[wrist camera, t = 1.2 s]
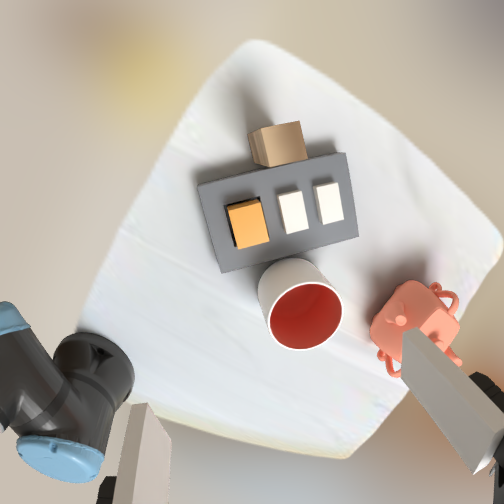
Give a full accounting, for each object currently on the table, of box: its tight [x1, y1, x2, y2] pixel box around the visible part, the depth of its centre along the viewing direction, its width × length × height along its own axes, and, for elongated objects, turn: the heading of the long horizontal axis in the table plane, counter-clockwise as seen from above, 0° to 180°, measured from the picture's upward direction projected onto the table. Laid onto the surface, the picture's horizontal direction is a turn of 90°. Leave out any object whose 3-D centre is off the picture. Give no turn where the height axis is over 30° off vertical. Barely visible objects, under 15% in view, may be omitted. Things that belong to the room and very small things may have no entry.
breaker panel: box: [197, 152, 359, 274], centre depth 43 cm, size 20×12×4 cm, turn 104°
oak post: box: [247, 121, 308, 167], centre depth 36 cm, size 4×4×12 cm
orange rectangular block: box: [227, 199, 269, 249], centre depth 41 cm, size 4×5×3 cm
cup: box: [258, 258, 344, 351], centre depth 44 cm, size 10×10×10 cm
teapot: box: [370, 280, 462, 378], centre depth 47 cm, size 15×17×13 cm
